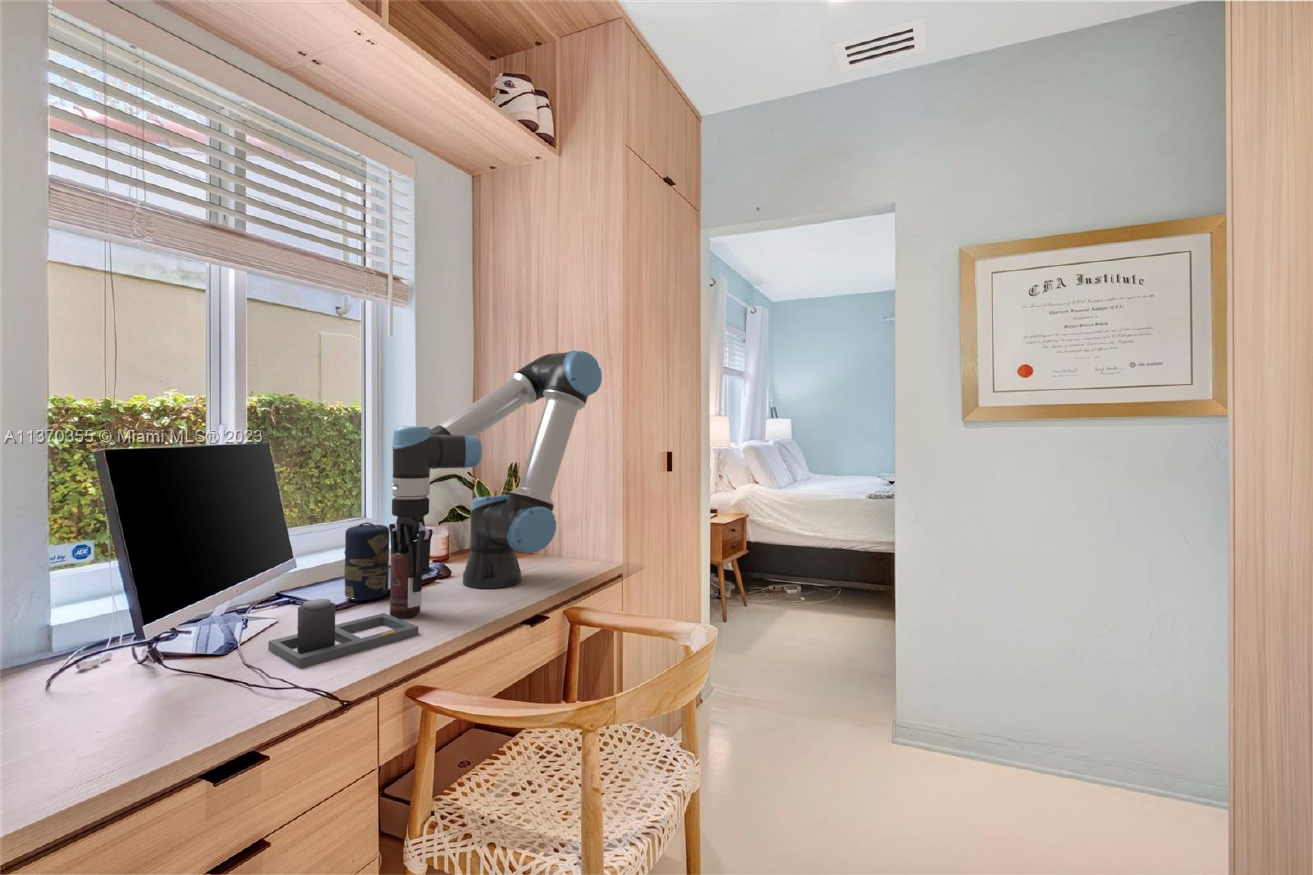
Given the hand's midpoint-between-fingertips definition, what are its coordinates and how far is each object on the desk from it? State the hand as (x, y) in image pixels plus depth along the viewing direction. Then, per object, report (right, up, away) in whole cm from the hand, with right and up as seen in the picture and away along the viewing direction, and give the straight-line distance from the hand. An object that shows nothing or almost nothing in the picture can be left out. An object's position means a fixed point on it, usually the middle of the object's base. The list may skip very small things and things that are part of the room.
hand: (409, 604), depth 131 cm
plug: (-9, -3, -20) cm, 22 cm away
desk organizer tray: (-5, -3, -16) cm, 17 cm away
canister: (-16, -2, +13) cm, 20 cm away
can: (-1, -3, +1) cm, 3 cm away
